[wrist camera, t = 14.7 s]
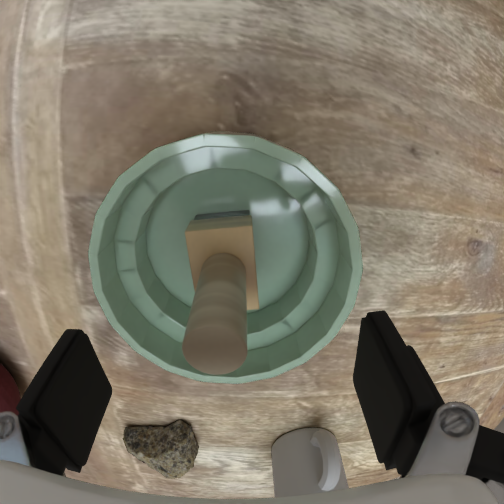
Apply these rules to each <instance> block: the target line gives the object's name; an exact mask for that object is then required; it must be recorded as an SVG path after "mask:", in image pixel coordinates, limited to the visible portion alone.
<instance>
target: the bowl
mask: <svg viewBox="0 0 504 504" xmlns="http://www.w3.org/2000/svg"><path fill="white" fill-rule="evenodd" d="M240 210H249V211H250V215H251V216H252V225H253V237H254V249H255V261H256V273H257V285H258V297H259V309H256V310H247V347H248V353H247V357H246V360H245V361H244V363H243V364H242V365H241V366H240V367H239V368H238V369H237V370H235V371H233V372H230V373H227V374H222V375H213V374H207V373H203V372H201V371H199V370H197V369H195V368H194V367H192V366H191V365H190V364H189V363H188V362H187V360H186V359H185V357H184V355H183V352H182V343H183V338H184V334H185V330H186V326H187V322H188V318H189V314H190V310H191V306H192V302H193V299H194V295H195V290H194V285H193V279H192V274H191V268H190V262H189V257H188V251H187V245H186V238H185V230H186V228H187V227H188V225H189V223H190V221H191V220H194V218H195V216H196V215H198V214H208V213H218V212H229V211H240ZM88 257H89V264H90V271H91V278H92V284H93V290H94V293H95V295H96V297H97V299H98V301H99V303H100V306H101V308H102V310H103V312H104V313H105V315H106V317H107V319H108V321H109V323H110V324H111V326H112V327H113V328H114V329H115V330H116V332H117V333H118V334H119V335H120V336H121V337H122V338H123V339H124V340H125V341H126V342H127V343H128V344H129V345H130V346H131V348H132V349H133V350H134V351H136V352H137V353H138V354H140V355H142V356H143V357H145V358H146V359H148V360H150V361H151V362H153V363H154V364H156V365H158V366H159V367H161V368H163V369H164V370H167V371H169V372H172V373H175V374H178V375H181V376H184V377H187V378H191V379H194V380H197V381H202V382H212V383H229V384H240V383H246V382H252V381H257V380H262V379H267V378H272V377H276V376H278V375H280V374H282V373H284V372H286V371H289V370H291V369H293V368H295V367H297V366H299V365H301V364H303V363H305V362H306V361H308V360H309V359H310V358H312V357H313V356H314V355H315V354H316V353H318V352H319V351H320V350H321V349H322V348H323V347H324V346H326V345H327V344H328V343H329V342H330V341H331V340H332V339H333V338H334V337H335V336H336V334H337V333H338V331H339V330H340V328H341V327H342V325H343V324H344V322H345V320H346V319H347V317H348V316H349V314H350V312H351V311H352V309H353V307H354V305H355V301H356V297H357V293H358V289H359V285H360V281H361V276H362V272H363V263H362V253H361V244H360V236H359V229H358V226H357V224H356V222H355V220H354V218H353V216H352V214H351V212H350V210H349V208H348V206H347V204H346V202H345V200H344V198H343V196H342V194H341V192H340V190H339V189H338V188H337V187H336V186H335V185H334V184H333V183H332V182H331V181H330V180H329V179H328V178H327V177H326V176H325V175H324V174H323V173H321V172H320V171H319V170H318V169H317V168H316V167H315V166H314V165H313V164H312V163H311V162H309V161H308V160H307V159H306V158H305V157H304V156H302V155H300V154H299V153H297V152H295V151H293V150H291V149H289V148H288V147H285V146H283V145H281V144H278V143H276V142H274V141H271V140H269V139H266V138H264V137H261V136H259V135H256V134H252V133H244V132H226V131H212V132H207V133H203V134H200V135H196V136H193V137H189V138H186V139H183V140H179V141H176V142H173V143H170V144H167V145H164V146H160V147H157V148H156V149H154V150H152V151H151V152H150V153H148V154H147V155H146V156H144V157H143V158H142V159H140V160H139V161H138V162H136V163H135V164H134V165H133V166H131V167H130V168H129V169H127V170H126V171H125V172H124V173H122V174H121V175H120V176H119V177H118V178H117V180H116V181H115V183H114V184H113V186H112V188H111V189H110V191H109V192H108V194H107V196H106V197H105V199H104V201H103V202H102V204H101V206H100V207H99V209H98V211H97V212H96V215H95V220H94V224H93V229H92V234H91V240H90V245H89V251H88Z"/></svg>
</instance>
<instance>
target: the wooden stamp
mask: <svg viewBox="0 0 504 504" xmlns="http://www.w3.org/2000/svg"><path fill="white" fill-rule="evenodd" d="M185 238H186V245H187V251H188V257H189V262H190V268H191V274H192V279H193V285H194V290H195V295H194V299H193V302H192V306H191V310H190V314H189V318H188V322H187V326H186V330H185V334H184V338H183V343H182V352H183V355H184V357H185V359H186V360H187V362H188V363H189V364H190V365H191V366H192V367H194V368H195V369H197V370H199V371H201V372H203V373H207V374H213V375H222V374H227V373H230V372H233V371H235V370H237V369H238V368H239V367H240V366H241V365H242V364H243V363H244V361H245V360H246V357H247V353H248V347H247V310H256V309H259V297H258V285H257V273H256V261H255V249H254V237H253V225H252V216H251V215H250V211H249V210H240V211H229V212H218V213H208V214H198V215H196V216H195V218H194V220H191V221H190V223H189V225H188V227H187V228H186V230H185Z"/></svg>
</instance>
